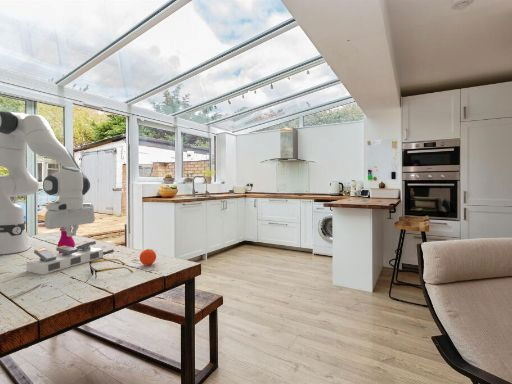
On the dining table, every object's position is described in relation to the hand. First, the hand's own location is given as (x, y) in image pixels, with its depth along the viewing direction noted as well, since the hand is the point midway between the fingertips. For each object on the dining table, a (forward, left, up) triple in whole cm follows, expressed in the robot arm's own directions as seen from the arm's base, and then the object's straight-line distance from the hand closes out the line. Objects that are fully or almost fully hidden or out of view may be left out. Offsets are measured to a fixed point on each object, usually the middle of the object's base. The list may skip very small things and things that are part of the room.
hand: (71, 235), depth 124 cm
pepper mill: (-19, +10, -13) cm, 25 cm away
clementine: (+30, +14, -13) cm, 36 cm away
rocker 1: (-3, -9, -6) cm, 11 cm away
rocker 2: (-3, 0, -6) cm, 7 cm away
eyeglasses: (+22, +1, -13) cm, 26 cm away
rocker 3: (-3, +9, -6) cm, 11 cm away
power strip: (-3, +5, -13) cm, 14 cm away
